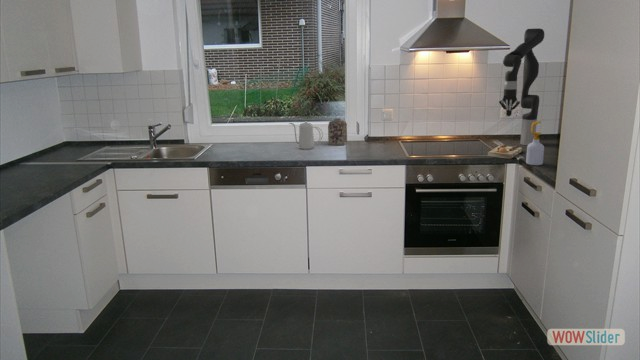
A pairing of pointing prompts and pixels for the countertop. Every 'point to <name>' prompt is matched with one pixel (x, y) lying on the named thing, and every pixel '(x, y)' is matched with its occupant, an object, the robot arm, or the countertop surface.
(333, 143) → the decorative jar
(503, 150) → the ball
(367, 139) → the countertop surface
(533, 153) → the soap bottle
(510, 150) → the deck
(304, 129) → the coffeepot
